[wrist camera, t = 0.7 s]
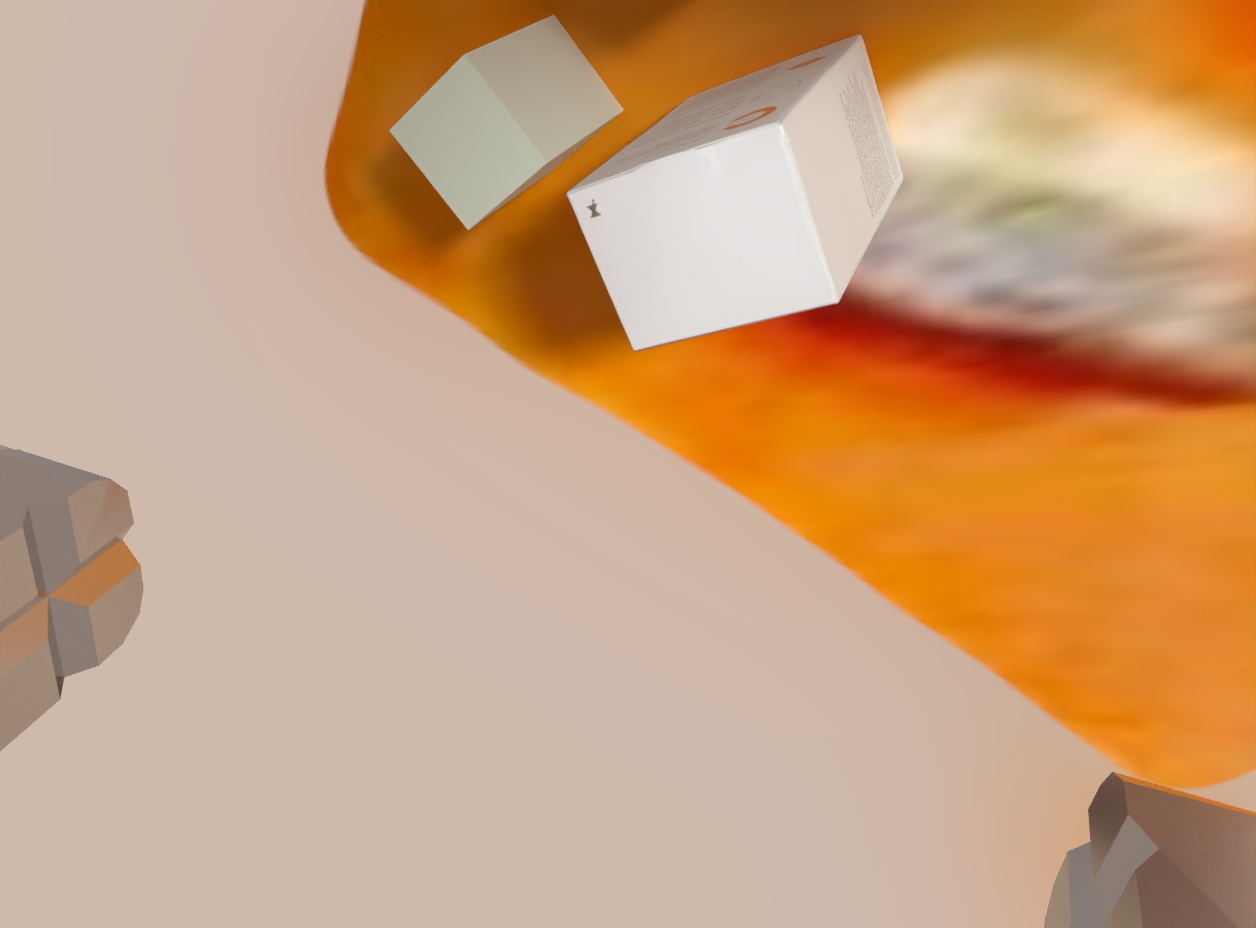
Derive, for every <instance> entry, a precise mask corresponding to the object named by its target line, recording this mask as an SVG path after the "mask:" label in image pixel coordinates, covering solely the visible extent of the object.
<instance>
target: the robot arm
mask: <svg viewBox="0 0 1256 928" xmlns="http://www.w3.org/2000/svg"><path fill="white" fill-rule="evenodd" d="M133 524H134V522H133V517H132V512H131V507H130V503H129V497H128V492H127V490H125V489H124V488H122V487H121V486H120V485H118V484H117V483H115V482H114V481H112V480H111V479H108V478H105V477H102V476H99V475H96V474H92V473H90V472H87V471H83V470H80V469H77V468H74V467H71V466H68V465H65V464H62V463H58V462H55V461H52V460H49V459H46V458H43V457H40V456H37V455H33V454H30V453H27V452H24V451H21V450H13V449H10V448H8V447H5V446H2V445H0V751H1V750H2V749H3V748H4V747H6V746H7V745H8V744H9V743H10V742H11V741H13V740H14V739H15V738H16V737H17V736H18V735H19V734H21V733H22V732H23V731H24V730H25V729H26V728H28V727H29V726H30V725H31V724H32V723H33V722H34V721H36V720H37V719H38V718H39V717H40V716H41V715H42V714H44V713H45V712H46V711H47V710H48V709H49V708H51V707H52V706H53V705H54V704H55V703H56V702H58V701H59V700H60V697H61V692H62V686H63V681H64V677H65V676H69V675H72V674H75V673H78V672H81V671H84V670H86V669H90V668H93V667H96V666H99V665H100V664H101V663H102V662H103V661H104V660H105V659H106V658H108V657H109V656H110V655H111V654H112V653H113V652H114V651H115V650H116V649H117V648H118V647H119V646H120V645H122V644H123V642H124V640H125V638H126V637H127V635H128V633H129V631H130V629H131V627H132V626H133V624H134V622H135V620H136V619H137V617H138V615H139V612H140V606H141V600H142V594H143V582H142V575H141V567H140V564H139V563H138V562H137V560H136V558H135V557H134V556H133V554H132V553H131V551H130V550H129V548H128V547H127V546H126V544H125V543H124V542H123V540H122V539H123V537H124V536H125V534H126V533H127V532H128V530H129V529H130V528H131V526H132V525H133ZM1088 813H1089V828H1090V840H1091V842H1089V843H1086V844H1084V845H1082V846H1079V847H1077V848H1075V849H1073V850H1070V851H1069V852H1067V855H1066V857H1065V859H1064V862H1063V864H1062V866H1061V869H1060V871H1059V873H1058V875H1057V878H1056V880H1055V882H1054V885H1053V890H1052V894H1051V898H1050V902H1049V906H1048V910H1047V914H1046V918H1045V926H1044V928H1256V813H1255V812H1251V811H1248V810H1244V809H1241V808H1237V807H1234V806H1230V805H1227V804H1223V803H1220V802H1216V801H1213V800H1209V799H1206V798H1202V797H1199V796H1195V795H1192V794H1188V793H1185V792H1181V791H1178V790H1174V789H1171V788H1167V787H1164V786H1160V785H1157V784H1153V783H1150V782H1146V781H1143V780H1139V779H1136V778H1132V777H1129V776H1125V775H1122V774H1118V773H1115V772H1112V773H1111V774H1110V775H1109V776H1108V777H1107V778H1106V779H1105V781H1104V782H1103V783H1102V784H1101V785H1100V787H1099V789H1098V791H1097V793H1096V795H1095V797H1094V799H1093V801H1092V803H1091V805H1090V807H1089V809H1088Z"/></svg>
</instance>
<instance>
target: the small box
mask: <svg viewBox="0 0 1256 928" xmlns="http://www.w3.org/2000/svg"><path fill="white" fill-rule="evenodd" d="M902 182H903V174H902V171H901V168H900V164H899V161H898V158H897V154H896V151H895V147H894V144H893V140H892V137H891V134H890V130H889V127H888V123H887V120H886V116H885V113H884V110H883V106H882V103H881V99H880V96H879V92H878V89H877V85H876V82H875V78H874V75H873V71H872V68H871V64H870V61H869V58H868V54H867V51H866V47H865V44H864V40H863V38H862V36H861V35H859V34H858V35H855V36H852V37H849V38H846V39H843V40H840V41H838V42H835V43H832V44H829V45H826V46H824V47H821V48H818V49H815V50H812V51H810V52H807V53H804V54H802V55H799V56H796V57H793V58H791V59H788V60H785V61H782V62H780V63H777V64H774V65H772V66H769V67H766V68H764V69H761V70H758V71H756V72H753V73H750V74H748V75H745V76H742V77H739V78H737V79H734V80H731V81H729V82H726V83H723V84H721V85H718V86H715V87H713V88H710V89H708V90H705V91H703V92H700V93H698V94H695V95H693V96H690V97H688V98H687V99H686V100H685V101H684V102H682V103H681V104H680V105H678V106H677V107H676V108H675V109H673V110H672V111H671V112H670V113H668V114H667V115H666V116H665V117H664V118H662V119H661V120H660V121H659V122H658V123H656V124H655V125H654V126H652V127H651V128H650V129H649V130H647V131H646V132H645V133H643V134H642V135H641V136H639V137H638V138H637V139H635V140H634V141H633V142H631V143H630V144H629V145H627V146H626V147H624V148H623V149H622V150H621V151H619V152H618V153H617V154H615V155H614V156H613V157H611V158H610V159H609V160H608V161H606V162H605V163H604V164H603V165H601V166H600V167H599V168H597V169H596V170H595V171H593V172H592V173H591V174H590V175H588V176H587V177H586V178H584V179H583V180H582V181H581V182H579V183H578V184H577V185H575V186H574V187H573V188H572V189H570V190H569V191H568V192H567V197H568V199H569V201H570V203H571V206H572V208H573V210H574V212H575V215H576V217H577V219H578V222H579V224H580V227H581V229H582V231H583V234H584V236H585V239H586V241H587V243H588V246H589V248H590V251H591V253H592V255H593V258H594V260H595V262H596V265H597V267H598V269H599V272H600V274H601V276H602V279H603V281H604V283H605V286H606V288H607V290H608V293H609V295H610V297H611V299H612V302H613V304H614V306H615V309H616V311H617V313H618V316H619V318H620V321H621V323H622V325H623V327H624V330H625V332H626V334H627V336H628V339H629V341H630V344H631V346H632V348H633V350H634V351H641V350H646V349H650V348H654V347H658V346H662V345H666V344H671V343H675V342H679V341H683V340H687V339H691V338H696V337H700V336H704V335H708V334H712V333H716V332H720V331H725V330H729V329H734V328H738V327H742V326H745V325H751V324H755V323H759V322H763V321H767V320H771V319H775V318H779V317H784V316H788V315H792V314H796V313H800V312H804V311H808V310H812V309H817V308H821V307H825V306H829V305H833V304H838V302H839V301H840V299H841V297H842V295H843V293H844V291H845V289H846V287H847V286H848V284H849V282H850V280H851V278H852V276H853V274H854V273H855V271H856V269H857V267H858V265H859V263H860V261H861V259H862V257H863V255H864V254H865V252H866V250H867V248H868V246H869V244H870V242H871V240H872V239H873V237H874V235H875V233H876V231H877V229H878V227H879V225H880V224H881V222H882V220H883V218H884V216H885V214H886V212H887V210H888V208H889V207H890V205H891V203H892V201H893V199H894V197H895V195H896V193H897V192H898V190H899V188H900V186H901V184H902Z"/></svg>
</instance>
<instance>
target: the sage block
mask: <svg viewBox="0 0 1256 928" xmlns="http://www.w3.org/2000/svg"><path fill="white" fill-rule="evenodd" d="M622 111H624V109H623V108H622V107H621V105H620V104H619V103H618V101H617V100H616V98H615V97H614V96H613V94H612V93H611V92H610V90H609V89H608V87H607V86H606V85H605V83H604V82H603V81H602V79H601V78H600V77H599V75H598V74H597V72H596V71H595V70H594V68H593V67H592V66H591V64H590V63H589V61H588V60H587V59H586V57H585V56H584V55H583V53H582V52H581V51H580V49H579V48H578V46H577V45H576V44H575V42H574V41H573V40H572V38H571V37H570V35H569V34H568V33H567V31H566V30H565V29H564V27H563V26H562V25H561V23H560V22H559V20H558V19H557V18H556V16H555V15H551V16H549V17H547V18H545V19H542V20H540V21H538V22H536V23H533V24H531V25H529V26H527V27H524V28H522V29H520V30H518V31H515V32H513V33H511V34H508V35H506V36H504V37H502V38H499V39H497V40H495V41H493V42H490V43H488V44H486V45H484V46H481V47H479V48H477V49H475V50H472V51H470V52H468V53H465V54H464V55H463V56H462V57H461V58H460V59H459V60H458V61H457V62H456V63H455V64H454V65H453V66H452V67H451V68H450V69H449V70H448V71H447V72H446V73H445V74H444V75H443V76H442V77H441V78H440V79H439V80H438V81H437V82H436V83H435V84H434V85H433V86H432V87H431V88H430V89H429V90H428V91H427V92H426V93H425V94H424V95H423V96H422V98H421V99H420V100H419V101H418V102H417V103H416V104H415V105H414V106H413V107H412V108H411V109H410V110H409V111H408V112H407V113H406V114H405V115H404V116H403V117H402V118H401V119H400V120H399V121H398V122H397V123H396V124H395V125H394V126H393V127H392V128H391V129H390V130H389V131H390V132H391V134H392V135H393V136H394V137H395V139H396V140H397V141H398V142H399V144H400V145H401V146H402V147H403V149H404V150H405V151H406V153H407V154H408V155H409V156H410V158H411V159H412V160H413V161H414V163H415V164H416V165H417V166H418V168H419V169H420V170H421V171H422V173H423V174H424V175H425V177H426V178H427V179H428V180H429V182H430V183H431V184H432V185H433V187H434V188H435V189H436V190H437V192H438V193H439V194H440V196H441V197H442V198H443V199H444V201H445V202H446V203H447V204H448V206H449V207H450V208H451V209H452V211H453V212H454V213H455V214H456V216H457V217H458V218H459V220H460V221H461V222H462V223H463V225H464V226H465V227H466V228H467V230H469V229H471V228H472V227H474V226H475V225H476V224H478V223H479V222H481V221H482V220H483V219H485V218H486V217H488V216H489V215H491V214H492V213H493V212H495V211H496V210H498V209H499V208H500V207H502V206H503V205H505V204H506V203H508V202H509V201H510V200H512V199H513V198H515V197H516V196H517V195H519V194H520V193H522V192H523V191H525V190H526V189H527V188H529V187H530V186H532V185H533V184H534V183H536V182H537V181H539V180H540V179H542V178H543V177H544V176H546V175H547V174H549V173H550V172H551V171H552V170H554V169H555V168H556V167H557V166H558V165H560V164H561V163H562V162H563V161H564V160H566V159H567V158H568V157H569V156H570V155H571V154H573V153H574V152H575V151H576V150H577V149H579V148H580V147H581V146H582V145H583V144H584V143H586V142H587V141H588V140H589V139H590V138H592V137H593V136H594V135H595V134H596V133H598V132H599V131H600V130H601V129H602V128H603V127H605V126H606V125H607V124H608V123H609V122H611V121H612V120H613V119H614V118H615V117H617V116H618V115H619V114H620V113H621V112H622Z"/></svg>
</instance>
